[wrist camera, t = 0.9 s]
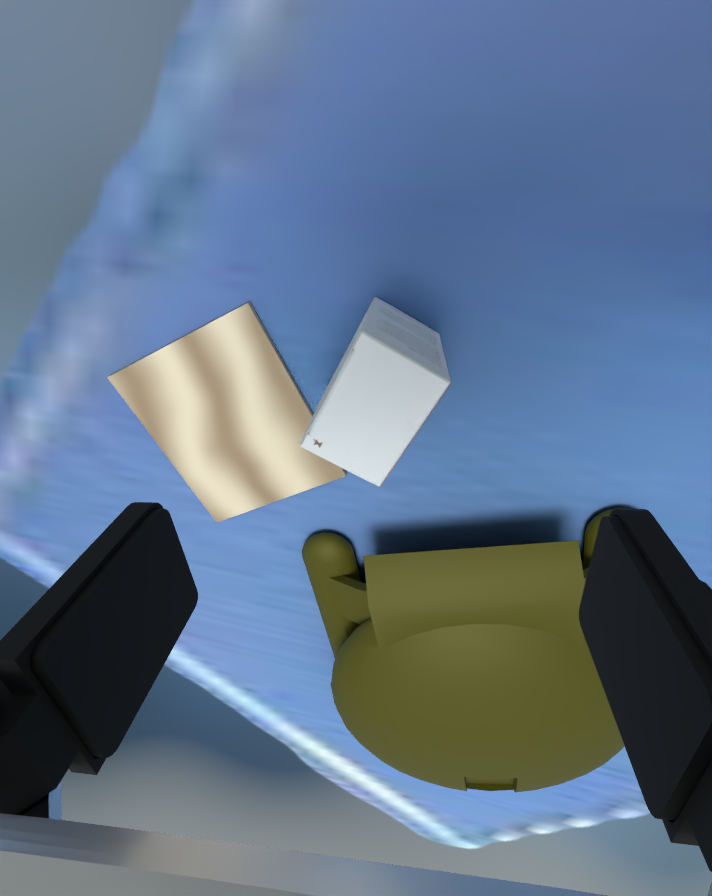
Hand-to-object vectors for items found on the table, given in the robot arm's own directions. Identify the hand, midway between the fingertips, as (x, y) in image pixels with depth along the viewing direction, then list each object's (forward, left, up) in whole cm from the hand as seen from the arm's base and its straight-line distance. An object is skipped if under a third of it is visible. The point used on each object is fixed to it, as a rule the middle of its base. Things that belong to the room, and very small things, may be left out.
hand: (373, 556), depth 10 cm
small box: (+3, +3, -25) cm, 26 cm away
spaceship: (+7, +36, -26) cm, 44 cm away
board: (+17, +3, -25) cm, 30 cm away
